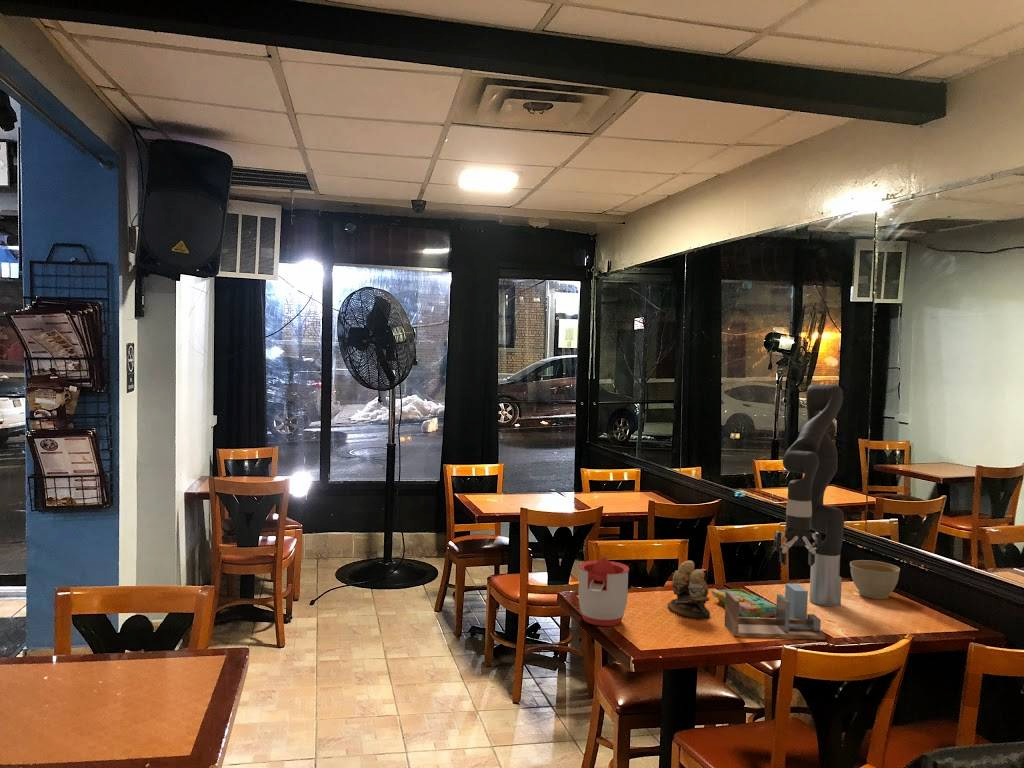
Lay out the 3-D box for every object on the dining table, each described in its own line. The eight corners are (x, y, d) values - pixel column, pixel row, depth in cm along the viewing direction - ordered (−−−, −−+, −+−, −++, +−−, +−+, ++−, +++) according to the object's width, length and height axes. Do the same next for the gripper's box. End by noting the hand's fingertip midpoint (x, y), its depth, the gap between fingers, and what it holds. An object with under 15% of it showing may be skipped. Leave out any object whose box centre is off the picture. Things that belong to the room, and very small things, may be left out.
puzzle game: (745, 606, 239) (712, 588, 259) (744, 621, 239) (711, 601, 259) (777, 604, 243) (742, 586, 262) (776, 618, 243) (741, 599, 262)
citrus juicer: (568, 626, 228) (570, 560, 228) (584, 610, 244) (586, 548, 244) (619, 634, 222) (621, 567, 222) (632, 617, 238) (634, 554, 238)
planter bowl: (843, 588, 280) (844, 558, 280) (889, 591, 278) (890, 561, 277) (856, 600, 264) (858, 569, 264) (905, 604, 262) (907, 573, 262)
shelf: (811, 627, 234) (813, 593, 233) (825, 639, 224) (826, 603, 223) (724, 625, 234) (725, 591, 233) (734, 636, 224) (735, 601, 223)
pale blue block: (796, 617, 243) (798, 583, 243) (806, 626, 235) (807, 591, 235) (784, 617, 243) (785, 583, 243) (793, 625, 235) (795, 590, 235)
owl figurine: (721, 619, 239) (723, 566, 239) (689, 623, 235) (691, 569, 235) (689, 602, 256) (690, 552, 256) (658, 605, 252) (660, 554, 251)
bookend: (811, 624, 232) (812, 595, 232) (821, 632, 225) (823, 602, 225) (775, 623, 232) (776, 594, 232) (784, 631, 225) (785, 601, 225)
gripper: (816, 512, 242) (814, 562, 243) (772, 510, 242) (770, 561, 243) (826, 516, 235) (824, 568, 235) (780, 515, 235) (778, 567, 235)
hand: (796, 564), depth 239 cm, fingers open, 8 cm apart
